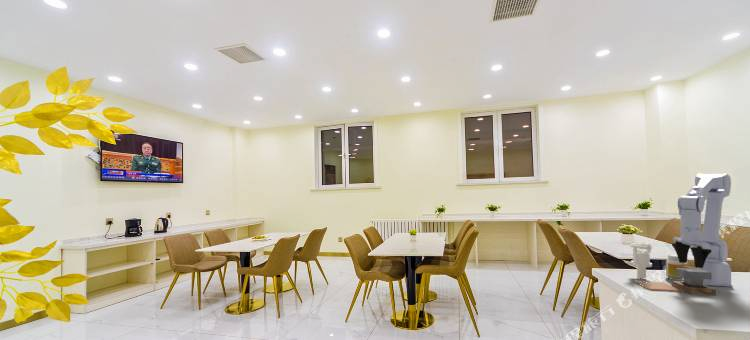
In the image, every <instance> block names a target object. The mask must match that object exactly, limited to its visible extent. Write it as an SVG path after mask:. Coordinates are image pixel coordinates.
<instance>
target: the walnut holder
mask: <svg viewBox="0 0 750 340" xmlns="http://www.w3.org/2000/svg"><path fill="white" fill-rule="evenodd" d="M671 286H672V287H674V288H676V289H679V290H680V292H684V293H686V294H693V295H708V296H717V289H716V288H713V287H711V286H710V285H704V284H703V288H698V287H688V286H686V285H684V284H683V280H671Z"/></svg>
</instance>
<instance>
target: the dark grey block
mask: <svg viewBox="0 0 750 340" xmlns="http://www.w3.org/2000/svg"><path fill="white" fill-rule="evenodd" d="M675 275H677V276H680V277H682V278H683V280H682V281H683V284H684V285H686V286H688V287H698V288H703V279H711V280H712V273H711V272H708V271H705V270H703V269H697V268H683V269H682V268H675Z"/></svg>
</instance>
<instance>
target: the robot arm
mask: <svg viewBox="0 0 750 340" xmlns="http://www.w3.org/2000/svg"><path fill="white" fill-rule="evenodd" d="M731 179H732V178H731V176H730V174H728V173H721V174H720V173H718V174H717V173H712V174H711V173H709V174H707V173H704V174H703V173H697V174H696V176H695V178H694V184H695V185H694V186H693V187H691V188H690V189H689V190H688V191H687V193H686V194H685V195H681V196H680V197H678V200H677V209H678V216H680V237H679V236H673V242H672V243H671V246H672V248H673V249H674V251H675V253H676V255H677V256H678V259H679V262H680V263H683V264H687V261H688V257H689V256H688V255H689V251H690V250H691V251H690V252H691V255H692V257H693V260H694V268H695V269H703V270H705V271H708V272H711V273H712V280H711V279H703V284H704V285H706V286H718V287H733V286H734V285H733V284H732V267H731V266H730V264H729V263H728V262H726V261H727V260H728V257H729V252H728V251H729V250H728V243H726V241H725V240H723V239H722V238H721V237H719V236H720V228H721V227H720V226H721V219H722V209H723V201H724V199H725V198H727V197H729V196H730V193H731V187H732V180H731ZM704 208H705V211H704ZM702 212H705V213H704V218H703V219H704V221H703V228H702ZM702 229H703V230H702Z"/></svg>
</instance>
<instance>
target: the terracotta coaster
mask: <svg viewBox="0 0 750 340" xmlns="http://www.w3.org/2000/svg"><path fill="white" fill-rule="evenodd" d="M634 283H636V284H637V283H639V284H641V285H643V286H644V287H643V286H642V287H643V288H646V289H647V290H648V291H656V292H657V291H658V292H674V293H675V292H676V293H681V290H679V289H677V288H675V287H673V286H672V285H670V284H668V283H666V282H663V281H661V282H660V281H648V282H647V283H646V280H645V281H644V280H635V281H634ZM639 284H638V285H639ZM641 285H640V286H641Z"/></svg>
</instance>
